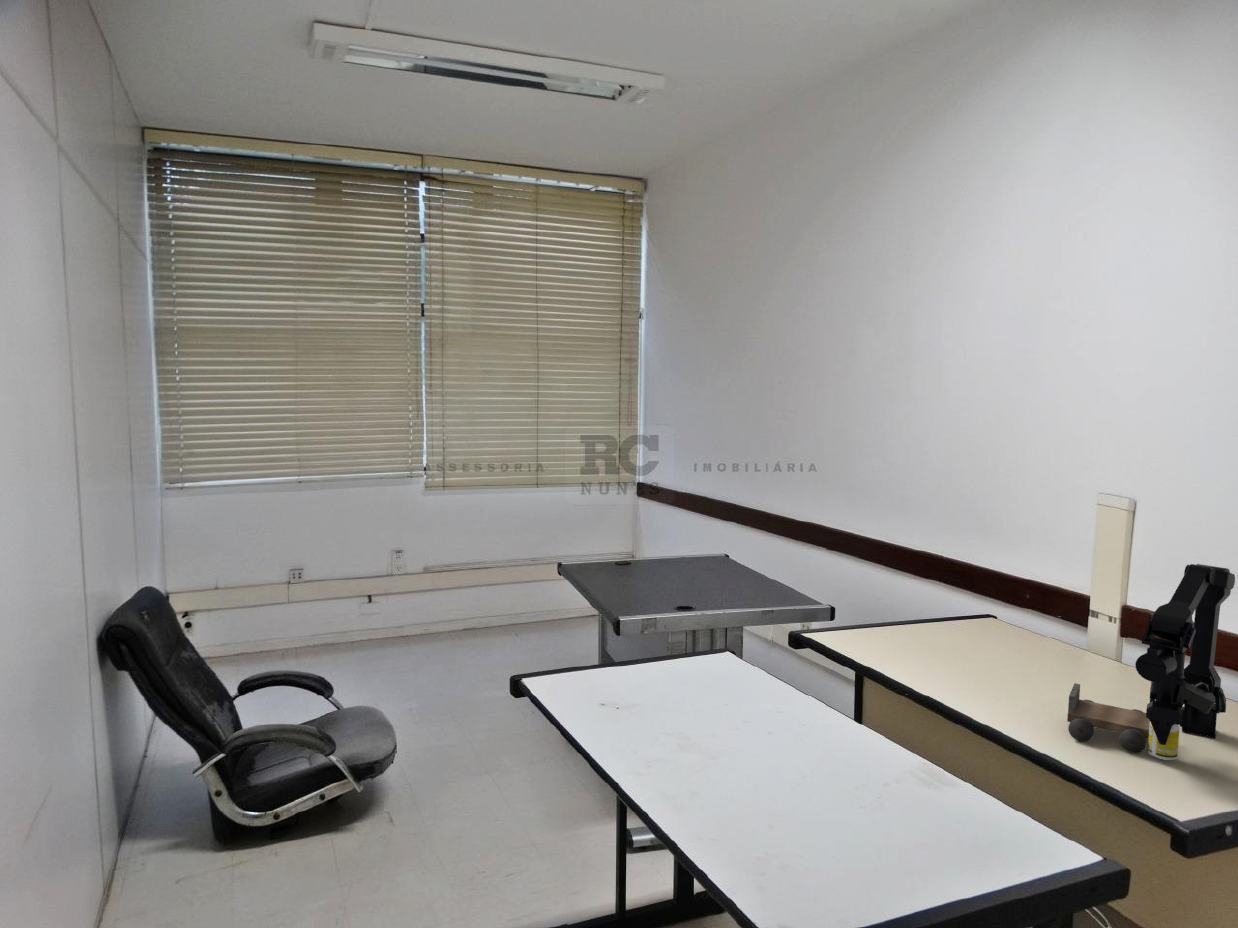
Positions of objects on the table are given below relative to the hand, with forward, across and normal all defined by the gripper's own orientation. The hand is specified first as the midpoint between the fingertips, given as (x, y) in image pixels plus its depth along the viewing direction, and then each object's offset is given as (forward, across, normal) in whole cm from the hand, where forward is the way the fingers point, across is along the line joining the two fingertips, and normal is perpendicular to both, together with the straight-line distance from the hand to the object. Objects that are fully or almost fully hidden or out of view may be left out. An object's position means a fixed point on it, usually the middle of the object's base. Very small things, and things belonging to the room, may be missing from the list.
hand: (1163, 739), depth 175 cm
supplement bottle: (+4, 0, 0) cm, 4 cm away
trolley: (+4, +6, +10) cm, 13 cm away
